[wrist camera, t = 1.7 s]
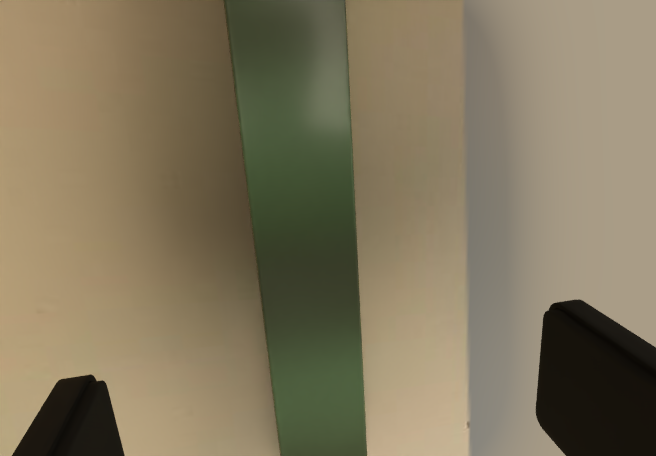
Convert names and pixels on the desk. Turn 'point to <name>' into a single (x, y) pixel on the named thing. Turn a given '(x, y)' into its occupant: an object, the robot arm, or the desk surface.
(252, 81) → the bar
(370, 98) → the desk surface
